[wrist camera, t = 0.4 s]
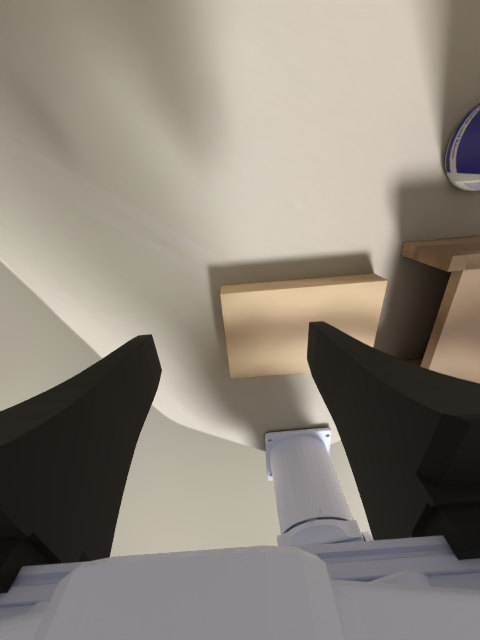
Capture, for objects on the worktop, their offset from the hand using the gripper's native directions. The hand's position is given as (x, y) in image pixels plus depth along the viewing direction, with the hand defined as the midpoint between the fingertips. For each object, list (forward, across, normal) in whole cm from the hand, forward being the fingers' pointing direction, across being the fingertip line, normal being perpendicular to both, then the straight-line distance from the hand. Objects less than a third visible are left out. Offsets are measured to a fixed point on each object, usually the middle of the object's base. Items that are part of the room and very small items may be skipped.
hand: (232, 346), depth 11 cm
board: (+11, -6, +5) cm, 13 cm away
